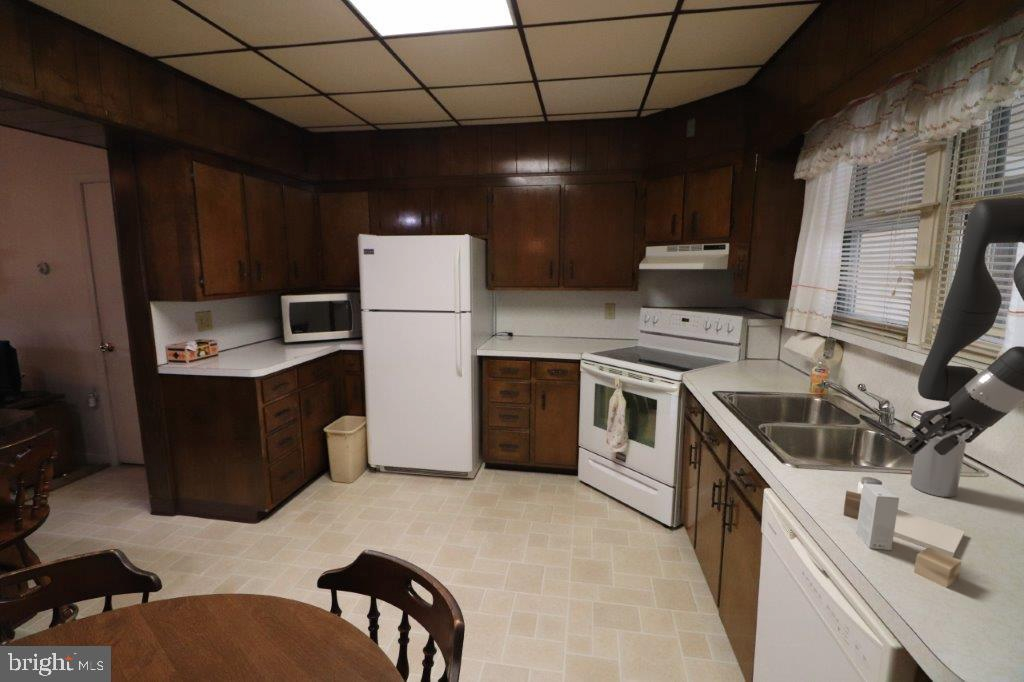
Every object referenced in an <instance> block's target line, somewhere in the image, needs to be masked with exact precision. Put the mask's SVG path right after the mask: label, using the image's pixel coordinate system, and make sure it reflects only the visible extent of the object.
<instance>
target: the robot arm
mask: <svg viewBox="0 0 1024 682" xmlns="http://www.w3.org/2000/svg"><path fill="white" fill-rule="evenodd" d="M1016 243H1022V244H1024V197H1023V196H1021V197H1005V198H1003V197H1002V198H987V199H982V200H980V201H978V202H976V203H975V204H974V205H973V207H971V211H970V213H969V214H968V218H967V221H966V226H965V229H964V232H963V238H962V243H961V248H960V252H959V257H958V262H957V266H956V269H955V273H954V276H953V279H952V282H951V285H950V287H949V291H948V293H947V296H946V298H945V301H944V305H943V307H942V310H941V315H940V319H939V323H938V326H937V330H936V333H935V336H934V340H933V343H932V345H931V348H930V350H929V352H928V354H927V357H926V359H925V361H924V363H923V366H922V369H921V371H920V373H919V377H918V381H917V382H918V383H917V390H918V394H919V396H920V397H921V398H923V399H925V400H929V401H936V402H944V403H945V402H947V403H948V405H946V406H944V407H941V408H936V409H931V410H930V409H929V410H925V411H924V412H922V414H921V415H920V421H919V423H918V425H916V426H915V427H914V428H913V429H912V430H911V432H912V433H913V434H914V435H915V436H914V437H913V438H912V439H910V440H909V441H908V442H907V443H906V444H905V445H904V449H905V450H906V451H907V452H908V453H909V454H910V455H914V458H913V465H912V471H911V475H910V477H911V478H910V486H911V487H913V488H914V489H916V490H918V491H921V492H923V493H925V494H929V495H932V496H935V497H943V498H954V497H956V496H957V494H958V489H959V483H960V480H961V479H960V478H961V474H962V473H961V472H962V468H963V467H962V466H963V463H964V462H963V461H964V456H965V450H966V447H967V445H966V444H970V443H972V442H973V441H974V440H975V439H977V438H978V437H979V436H980V435H981V434H982V433H984V432H985V431H986V430H988V429H989V428H991V427H993V426H994V425H996V424H997V423H998V422H999V421H1000V420H1002V419H1003V418H1004V417H1006V416H1007V415H1008V414H1009V413H1011V412H1012V411H1013V410H1015V408H1017V407H1018V406H1019V405H1020V404H1022V403H1023V402H1024V346H1013V347H1011V348H1008V349H1007V350H1005V352H1003V353H1002V354H1001V355H1000V356H999V357H998V358H996V359H995V361H993V362H992V363H991V364H989V366H988V367H986V368H985V369H983V370H982V371H980V372H978V371H977V370H976V369H975V368H973V367H971V366H962V365H961V366H960V365H949V364H950V362H951V361H952V359H953V358H954V357H955V356H956V355H957V354H958V353H959V352H960V351H962V350H964V349H965V348H966V347H968V346H970V345H971V344H973V343H975V342H976V341H977V340H979V339H981V337H983V336H984V335H986V334H987V333H988V332H989V331H990V330H991V329H992V328H993V326H994V324H995V321H996V319H997V316H998V314H999V310H1000V308H1001V307H1002V301H1003V297H1002V295H1001V292H1000V290H999V287H998V286H997V284H996V282H995V281H994V279H993V277H992V275H991V273H990V272H989V270H988V267H987V265H986V253H987V252H986V251H987V247H989V245H991V244H1016ZM1012 274H1013V275H1012V277H1013V282H1014V285H1015V287H1016V290H1017V291H1018V294H1019V295H1020V297H1021V299H1022V300H1023V301H1022V302H1024V254H1023V256H1021V258H1020V259H1019V261H1018V262H1017V263H1016V266H1015V267H1014V269H1013V273H1012Z"/></svg>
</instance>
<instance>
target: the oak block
mask: <svg viewBox="0 0 1024 682" xmlns="http://www.w3.org/2000/svg"><path fill="white" fill-rule="evenodd" d="M914 563H915V564H914V569H913V573H914V574H916V575H918V576H920V577H922V578H925V580H926V579H927V580H929V581H931V582H933V583H935V584H936V585H940V586H941V587H943V588H945V589H947V588H948V587H950V586H952V584H954V583H955V582H957V581H958V580H959V577H960V576H959V575H960V571H961V565H962V560H960V559H958V558H955V557H954V556H953V557H951V556H949V555H946V554H944V553H942V552H939V551H937V550H935V549H932V548H930V547H928V548H926V547H925V549H923V550H922V551H920V552H918V553H917V554H916V558H915V562H914Z"/></svg>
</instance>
